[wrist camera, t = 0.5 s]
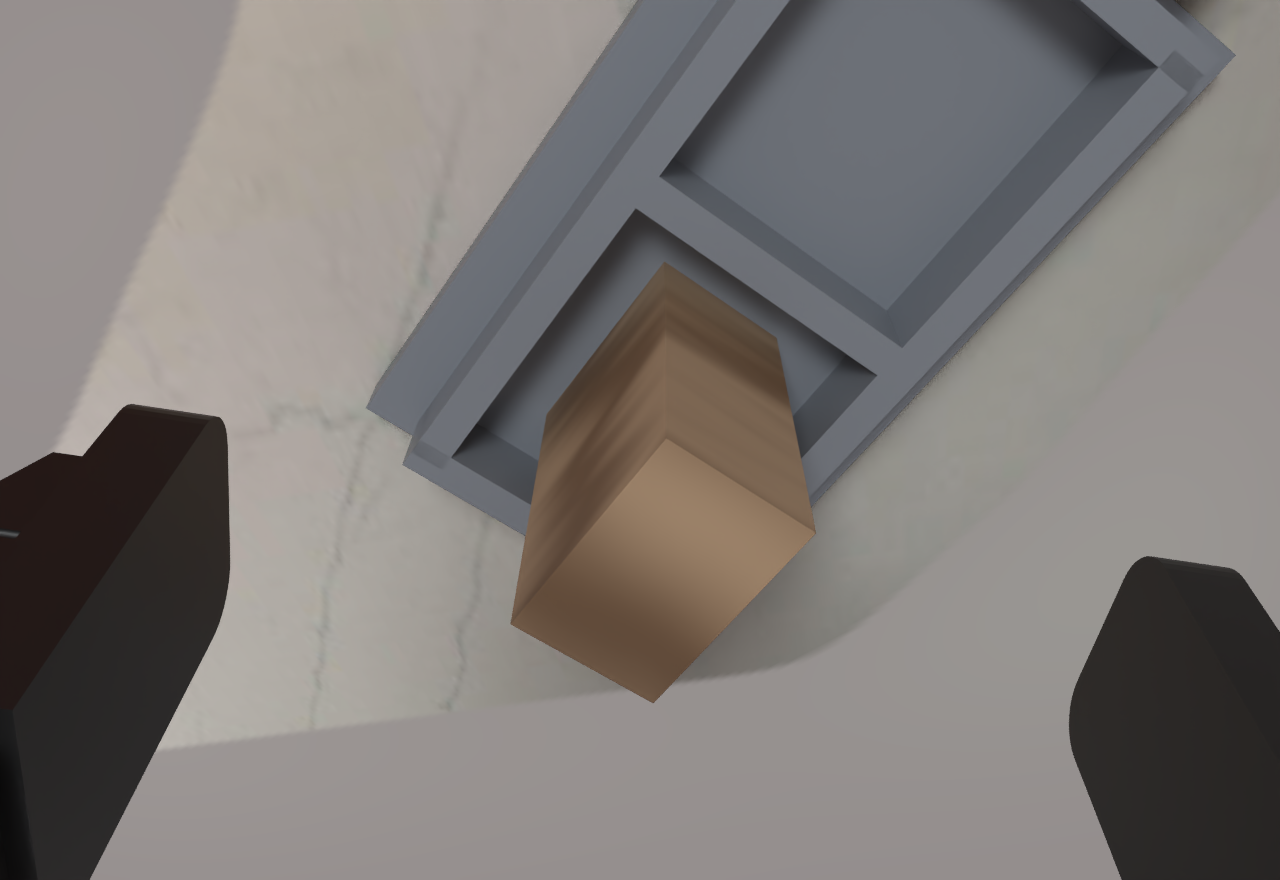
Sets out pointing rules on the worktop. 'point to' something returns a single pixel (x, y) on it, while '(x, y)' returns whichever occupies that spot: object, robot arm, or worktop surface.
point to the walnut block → (662, 489)
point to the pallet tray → (790, 206)
